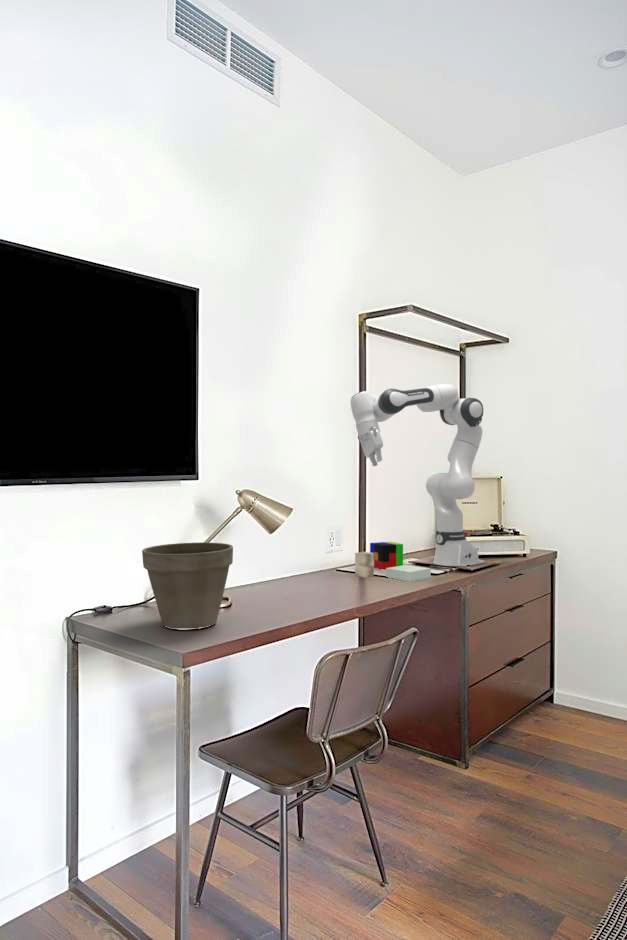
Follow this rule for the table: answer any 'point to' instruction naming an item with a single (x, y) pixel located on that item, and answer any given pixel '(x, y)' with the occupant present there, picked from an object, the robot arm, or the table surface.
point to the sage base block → (408, 573)
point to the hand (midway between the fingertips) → (377, 463)
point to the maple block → (364, 564)
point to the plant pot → (188, 581)
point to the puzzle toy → (387, 554)
